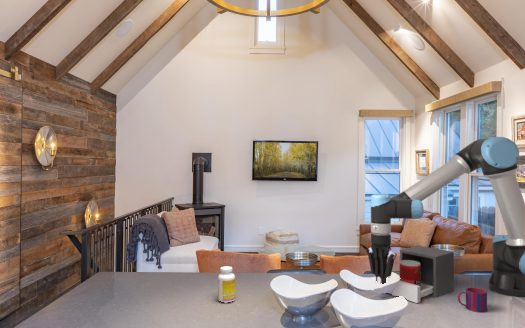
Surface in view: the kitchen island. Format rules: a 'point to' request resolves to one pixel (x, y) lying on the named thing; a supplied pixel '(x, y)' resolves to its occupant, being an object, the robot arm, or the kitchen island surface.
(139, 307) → the kitchen island surface
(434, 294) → the housing
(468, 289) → the mug
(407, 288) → the tray
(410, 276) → the canned food
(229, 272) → the supplement bottle
